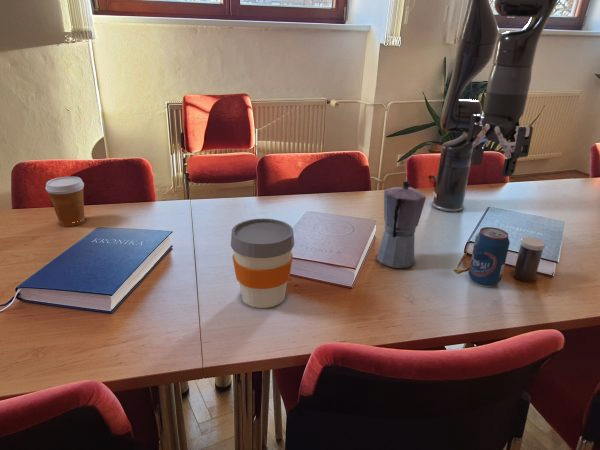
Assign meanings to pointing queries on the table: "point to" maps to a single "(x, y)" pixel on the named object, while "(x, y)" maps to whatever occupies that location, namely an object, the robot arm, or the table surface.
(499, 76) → the robot arm
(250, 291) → the reusable coffee cup
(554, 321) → the table surface
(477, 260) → the soda can
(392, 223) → the moka pot
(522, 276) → the pepper shaker
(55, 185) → the disposable coffee cup
